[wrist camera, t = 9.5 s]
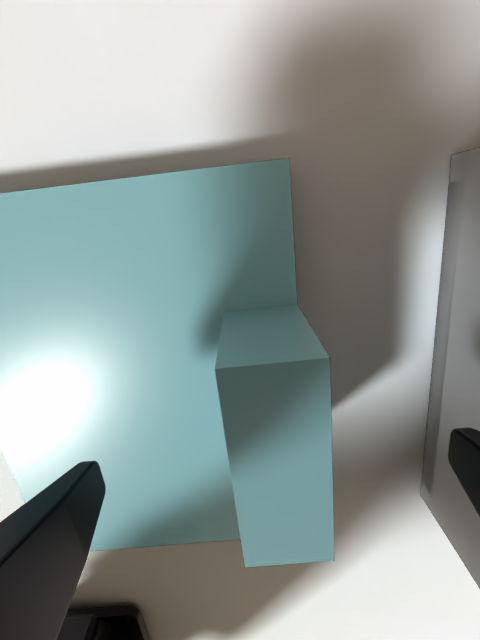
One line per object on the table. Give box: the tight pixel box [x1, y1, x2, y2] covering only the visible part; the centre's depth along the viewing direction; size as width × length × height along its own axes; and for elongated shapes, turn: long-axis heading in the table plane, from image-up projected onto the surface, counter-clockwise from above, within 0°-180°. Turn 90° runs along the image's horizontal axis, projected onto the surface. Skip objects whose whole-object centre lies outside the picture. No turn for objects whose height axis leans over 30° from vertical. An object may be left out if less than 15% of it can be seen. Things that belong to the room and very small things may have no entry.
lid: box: [0, 158, 334, 567], centre depth 10 cm, size 15×12×6 cm
